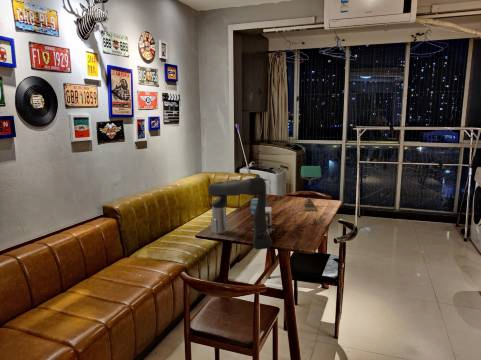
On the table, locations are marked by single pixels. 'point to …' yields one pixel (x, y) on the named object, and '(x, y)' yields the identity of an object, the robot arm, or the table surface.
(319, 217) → the table surface
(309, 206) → the banker's lamp
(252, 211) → the data package
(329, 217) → the table surface
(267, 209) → the tunnel
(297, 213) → the table surface
